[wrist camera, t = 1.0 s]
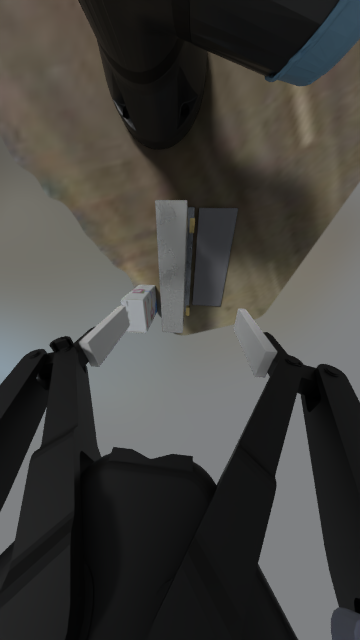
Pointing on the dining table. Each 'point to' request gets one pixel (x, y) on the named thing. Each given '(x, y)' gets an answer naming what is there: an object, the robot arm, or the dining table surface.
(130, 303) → the ink box
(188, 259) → the stand
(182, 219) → the rail
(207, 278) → the mat
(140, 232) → the dining table surface
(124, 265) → the dining table surface
